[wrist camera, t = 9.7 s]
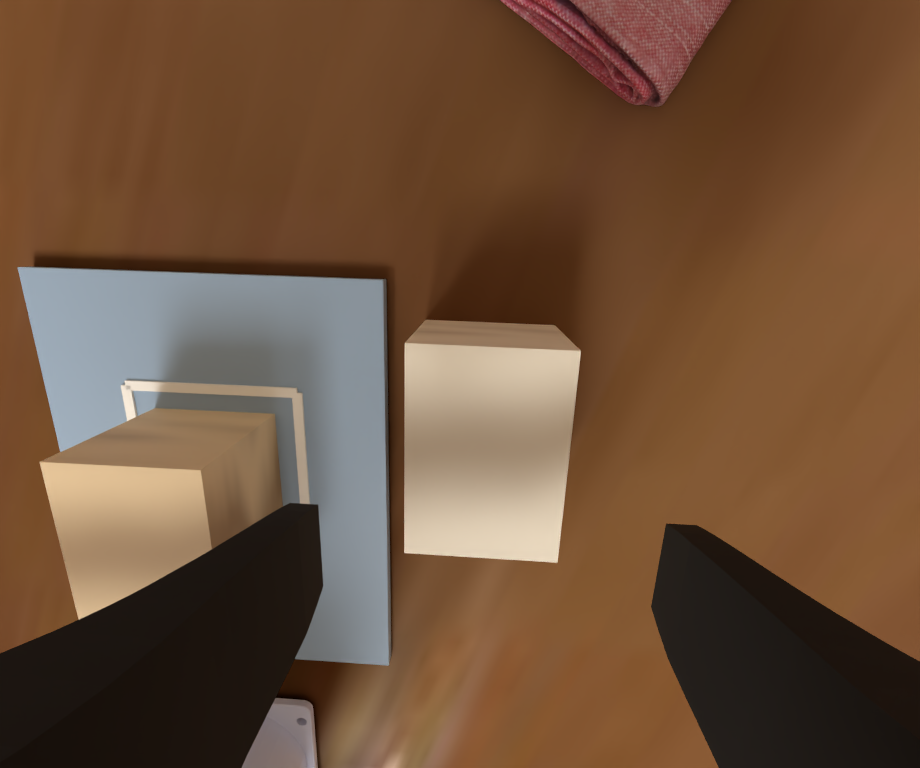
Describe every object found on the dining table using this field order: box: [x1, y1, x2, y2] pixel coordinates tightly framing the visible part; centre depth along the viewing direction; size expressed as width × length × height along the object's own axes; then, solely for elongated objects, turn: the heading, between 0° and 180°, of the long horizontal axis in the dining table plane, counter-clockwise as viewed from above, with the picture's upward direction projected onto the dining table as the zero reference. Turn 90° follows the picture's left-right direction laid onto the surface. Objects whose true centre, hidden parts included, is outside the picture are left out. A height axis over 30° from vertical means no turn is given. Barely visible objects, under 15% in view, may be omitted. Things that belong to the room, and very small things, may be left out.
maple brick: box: [40, 408, 283, 619], centre depth 17 cm, size 7×5×5 cm
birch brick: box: [404, 320, 581, 563], centre depth 16 cm, size 7×5×5 cm
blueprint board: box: [18, 267, 391, 666], centre depth 20 cm, size 18×14×1 cm
